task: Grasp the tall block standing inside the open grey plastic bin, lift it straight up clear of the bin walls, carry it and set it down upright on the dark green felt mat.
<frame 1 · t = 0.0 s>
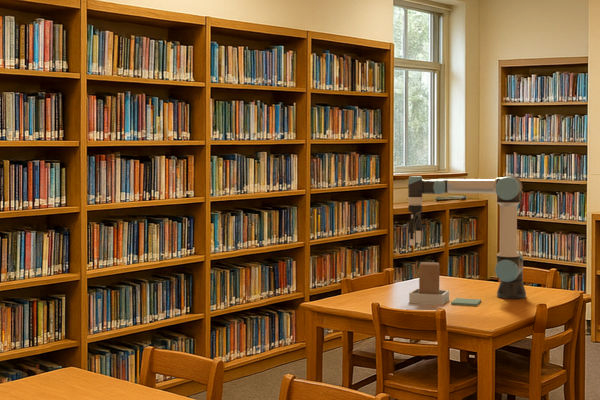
hand: (415, 244, 448), 28 cm above the table, fingers open, 13 cm apart
bin: (429, 301, 432), on the table
block: (429, 301, 432), resting in bin
mat: (466, 303, 426), on the table
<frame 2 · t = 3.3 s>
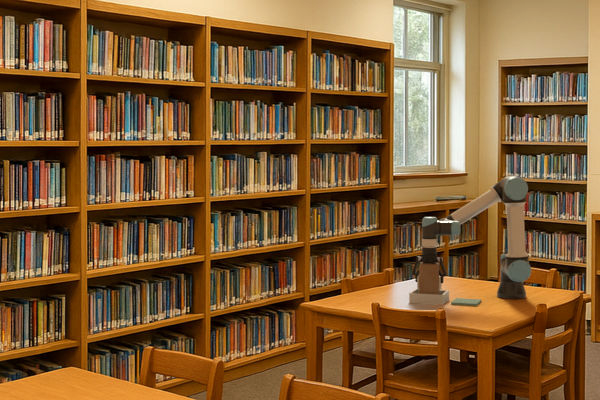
hand: (429, 288, 432), 6 cm above the table, fingers closed on block, 11 cm apart
block: (429, 301, 432), resting in bin, touching gripper
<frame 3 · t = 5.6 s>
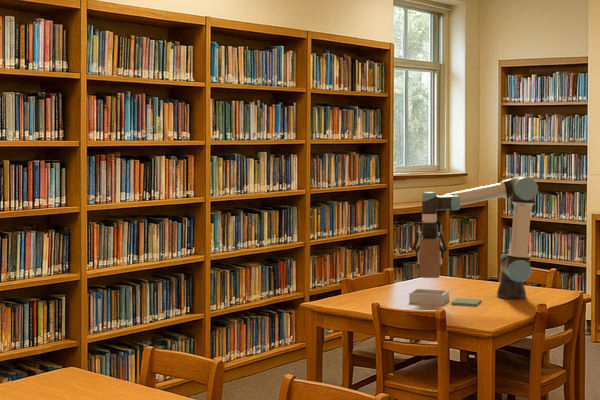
hand: (429, 264, 431), 19 cm above the table, fingers closed on block, 11 cm apart
block: (430, 277, 431), point 13 cm above the table, touching gripper
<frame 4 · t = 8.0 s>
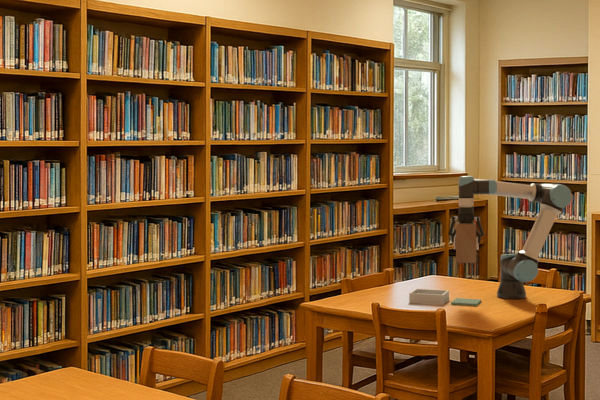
hand: (466, 249, 424), 28 cm above the table, fingers closed on block, 11 cm apart
block: (466, 262, 425), point 21 cm above the table, touching gripper
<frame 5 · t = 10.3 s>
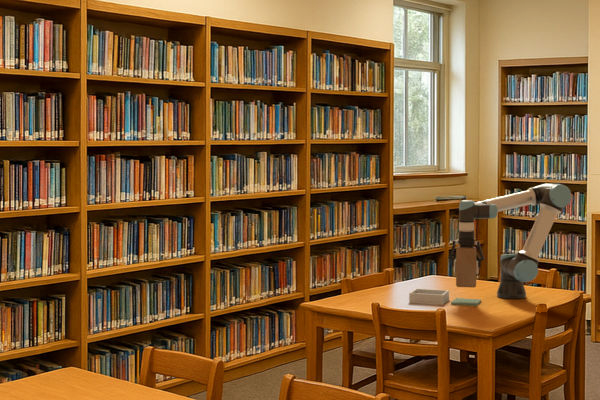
hand: (466, 273, 425), 15 cm above the table, fingers closed on block, 11 cm apart
block: (466, 286, 425), point 9 cm above the table, touching gripper
when the fingers open (9 cm above the table, at t = 12.6 s): block drops 1 cm, resting on mat.
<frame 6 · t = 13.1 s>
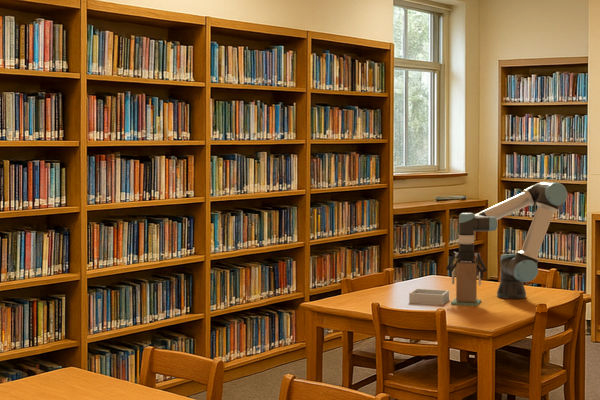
hand: (466, 284, 425), 10 cm above the table, fingers open, 13 cm apart
block: (466, 301, 426), point 1 cm above the table, touching mat
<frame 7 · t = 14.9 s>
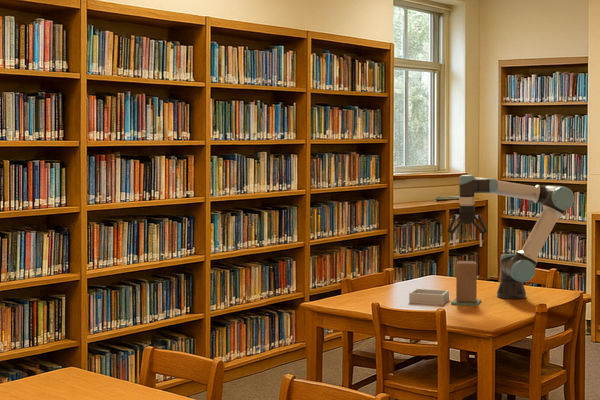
hand: (467, 246, 427), 29 cm above the table, fingers open, 13 cm apart
nothing on the table moved.
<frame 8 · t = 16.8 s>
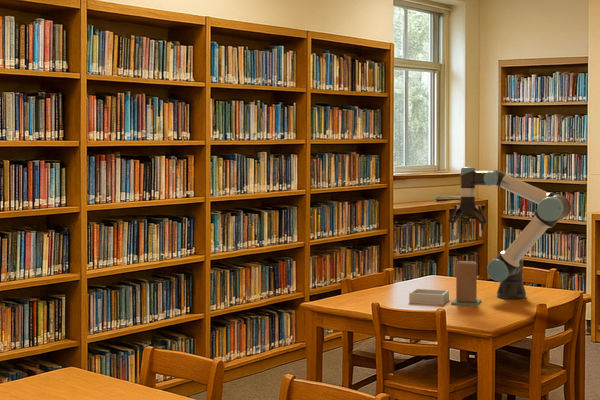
hand: (467, 235, 443), 33 cm above the table, fingers open, 13 cm apart
nothing on the table moved.
at the end: block inside the target area on the mat (0.1 cm from its centre), point 1.0 cm above the mat's base; block tilted 0°; the gripper is holding nothing; block touching mat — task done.
